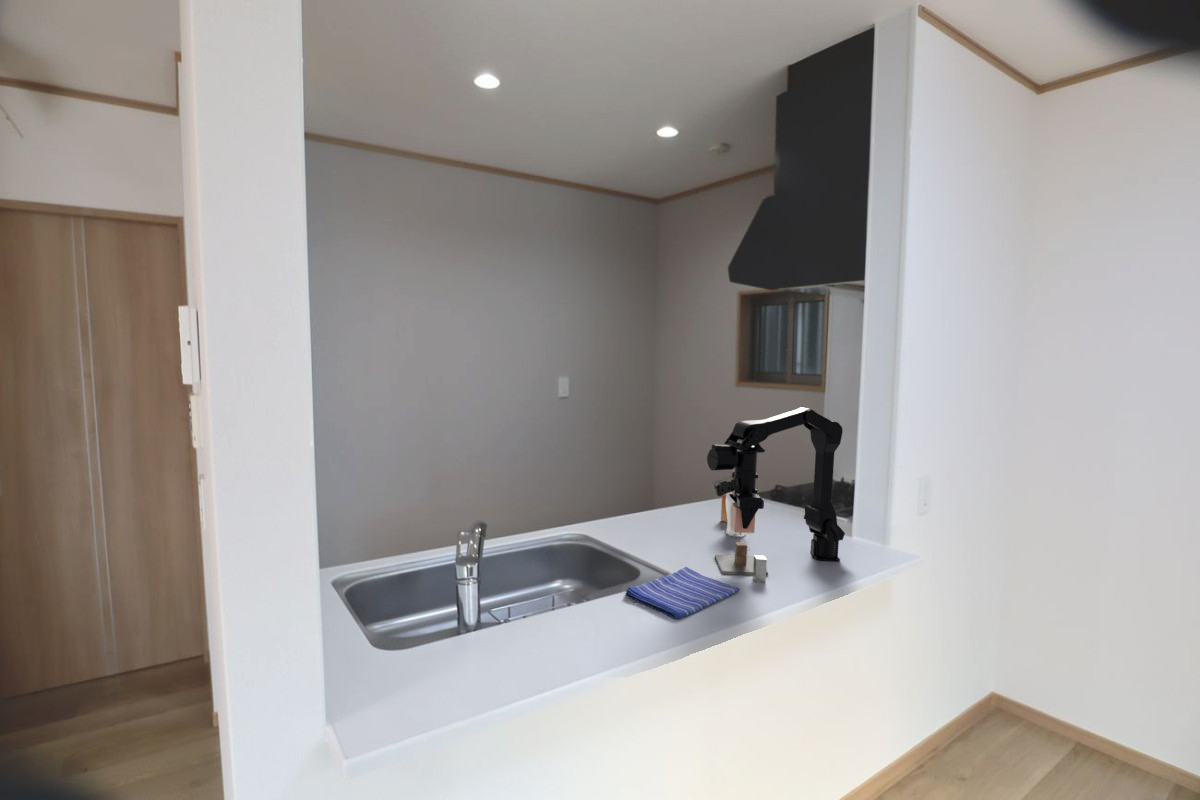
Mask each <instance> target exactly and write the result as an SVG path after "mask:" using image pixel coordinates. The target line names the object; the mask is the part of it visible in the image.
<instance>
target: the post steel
mask: <svg viewBox="0 0 1200 800" xmlns="http://www.w3.org/2000/svg"><path fill="white" fill-rule="evenodd" d="M753 556H754V567H753V575H752V579H753V578H754V579H753V581H754V582H755V581H757V583H765V582H766V579H767V577H766V576H767V575H766V570H767V560H768V559H767V558H766V556H765V555H757V554H756V555H755V554H754V555H753Z"/></svg>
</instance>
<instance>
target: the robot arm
mask: <svg viewBox="0 0 1200 800" xmlns="http://www.w3.org/2000/svg"><path fill="white" fill-rule="evenodd" d="M799 426H803V427H804V428H805V429H807V430H809V431H810V441H811V444H812V446H813V447H814V451H815V456H814V457H815V460H814V478H813V494H812V496H813V497H812V501H811V502H810V503H809V505H804V516H803V519H804V520H805V524H806V526H808V529H809V532H810V533H812V536H813V537H812V538H811V540H810V551H809V552H810V554H811V555H812V556H813V558H814V559H816V560H817V561H828V562H829V561H830V562H832V561H836V562H840V561H841V558H840V557H839V544H840V543H839V542H840V541H843V540H844V537H845V535H846V533H845V531H844V530H843V529H842V528H841V527H840V526H839V524H838V515H837V512H836V509H835V507H834V505H833V503H832V502H833V501H832V498H833V485H834V484H833V483H834V464H835V453H836V450H837V449H838V448H839V446H840V445H841V441H842V437H843V432H844V430H843V426H842V425H841V424H840V423H839V422H838V421H834V420H830V419H829V418H827V417H825V416H823V415H821V414H819V413H818V412H816V411H815V410H813V409H812V408H809V407H801V406H800V407H798V408H796V409H794V410H791V411H790V410H789V411H787V412H783V413H781V414H778V415H775V416H771V417H767V418H765V419H754V420H753V419H750V420H741V421H738V422H736V423H735V425H734V427H733V429H732V432H731V433H730V435H728V437H727V438H726V440H725V441H724V444H716V443H714V444H712V445H711V449H710V450H709V451H708V453H707V455H706V463H707V465H708V468H709V470H710V471H728V470H732V471H731V475H730V476H725V477H723V478H720V479H719V478H718V479H717V480H713V481H712V482H711V484H712V487H713V490H714V493H715V494H716V496H717V497H722V495H723V494H726V493H730V492H732V494H729V496H730V497H731V498H732V499H733V500H734V501H735V504H736V505H737V507H738V508H739V509H740V510H741V517H742V525H743V528H744V529H747V528H748V526H749V524H750V522H751V521H752V519H753V517H754V515H755V516H756V514H757V512H758V511H759V510H763V509H765V501H764V500H763V499H762V497H761V496H760V495H759V494H758V489H757V488H756V485H757V479H759V474H758V473H757V467H758V453H760V454H761V453H765V452H766V450H765V449H764V448H763V447H762V446H761V445H760V443H762V442H764V441H766V440H767V439H768V437H769V436H771V435H774V434H777V433H780V432H783V431H786V430H789V429H793V428H796V427H799Z"/></svg>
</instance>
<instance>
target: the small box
mask: <svg viewBox="0 0 1200 800" xmlns="http://www.w3.org/2000/svg"><path fill="white" fill-rule="evenodd" d="M720 520H721V521H722V522H724V523H726V524H727V523H728V522H727V512H726V494H723V495H722V496H721V509H720Z"/></svg>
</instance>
